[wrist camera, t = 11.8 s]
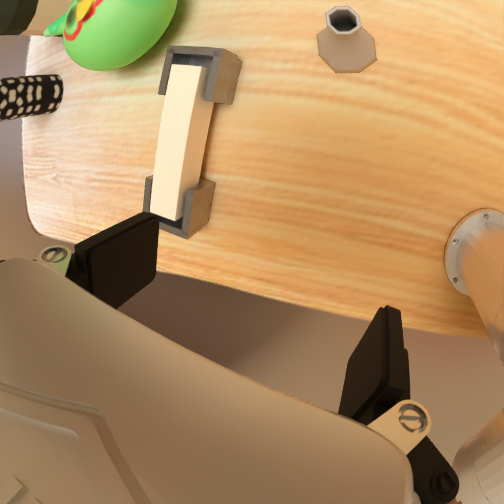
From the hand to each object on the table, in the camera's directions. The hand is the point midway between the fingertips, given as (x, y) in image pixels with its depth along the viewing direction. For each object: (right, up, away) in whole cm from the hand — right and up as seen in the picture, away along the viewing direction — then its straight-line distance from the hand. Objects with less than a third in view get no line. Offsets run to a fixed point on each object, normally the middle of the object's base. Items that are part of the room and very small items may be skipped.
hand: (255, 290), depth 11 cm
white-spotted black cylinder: (-40, +33, +32) cm, 61 cm away
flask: (+11, +26, +16) cm, 32 cm away
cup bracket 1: (-5, +24, +23) cm, 34 cm away
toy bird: (-16, +37, +22) cm, 46 cm away
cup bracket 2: (-9, +10, +31) cm, 34 cm away
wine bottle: (-33, +46, +24) cm, 61 cm away
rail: (-8, +16, +25) cm, 31 cm away
